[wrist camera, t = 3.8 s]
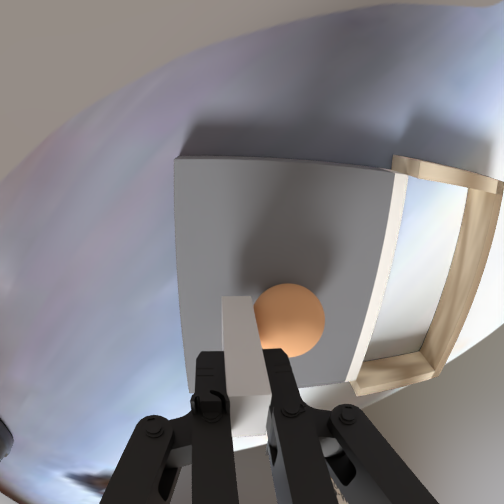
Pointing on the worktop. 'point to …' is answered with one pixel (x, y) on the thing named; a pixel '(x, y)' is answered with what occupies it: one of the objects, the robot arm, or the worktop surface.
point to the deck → (286, 249)
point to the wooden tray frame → (457, 284)
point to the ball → (289, 319)
